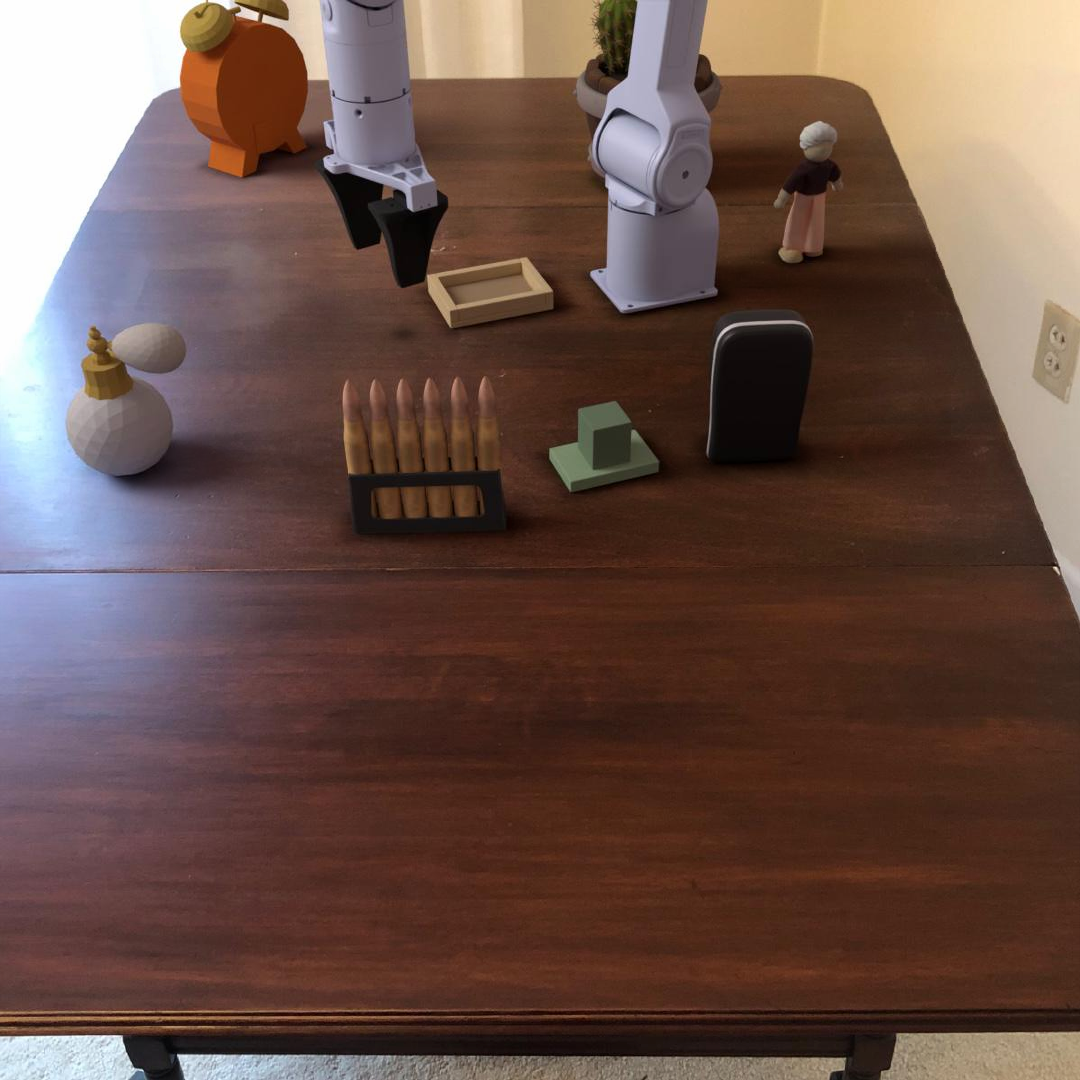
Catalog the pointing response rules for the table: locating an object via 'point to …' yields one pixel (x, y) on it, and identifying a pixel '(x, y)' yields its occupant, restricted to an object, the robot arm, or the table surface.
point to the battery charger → (758, 385)
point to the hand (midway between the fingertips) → (388, 264)
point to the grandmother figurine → (809, 194)
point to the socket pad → (490, 292)
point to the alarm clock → (242, 83)
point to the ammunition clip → (424, 463)
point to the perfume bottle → (124, 400)
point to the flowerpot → (624, 67)
